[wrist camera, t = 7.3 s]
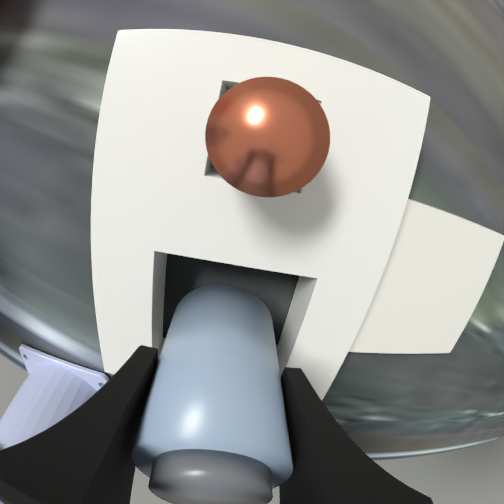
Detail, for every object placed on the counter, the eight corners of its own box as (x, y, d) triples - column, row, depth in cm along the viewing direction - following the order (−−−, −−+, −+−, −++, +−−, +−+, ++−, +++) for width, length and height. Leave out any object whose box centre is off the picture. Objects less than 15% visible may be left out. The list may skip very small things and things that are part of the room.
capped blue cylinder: (260, 367, 14) (272, 517, 6) (171, 354, 13) (136, 502, 6) (283, 293, 12) (322, 470, 5) (176, 275, 12) (112, 447, 4)
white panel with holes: (312, 373, 17) (320, 403, 15) (118, 343, 16) (104, 371, 13) (400, 100, 11) (430, 97, 9) (139, 46, 10) (118, 30, 7)
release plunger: (290, 181, 12) (314, 208, 8) (213, 167, 11) (195, 185, 7) (307, 107, 11) (340, 94, 7) (228, 91, 10) (218, 67, 6)
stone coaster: (446, 347, 17) (449, 352, 16) (341, 345, 16) (344, 351, 15) (499, 233, 13) (505, 236, 13) (397, 194, 13) (403, 197, 12)
